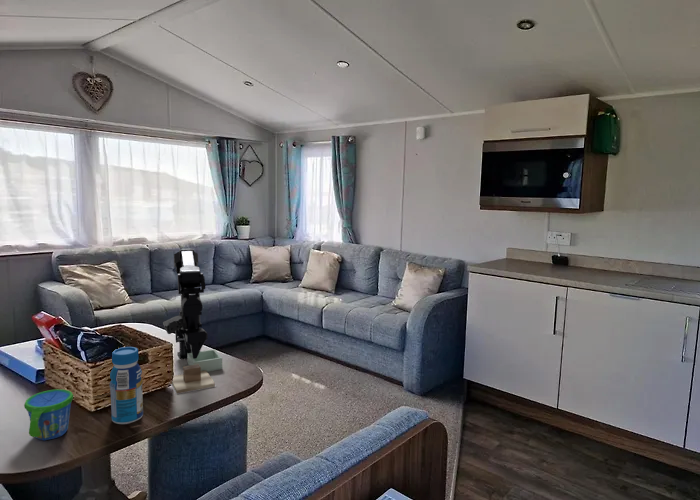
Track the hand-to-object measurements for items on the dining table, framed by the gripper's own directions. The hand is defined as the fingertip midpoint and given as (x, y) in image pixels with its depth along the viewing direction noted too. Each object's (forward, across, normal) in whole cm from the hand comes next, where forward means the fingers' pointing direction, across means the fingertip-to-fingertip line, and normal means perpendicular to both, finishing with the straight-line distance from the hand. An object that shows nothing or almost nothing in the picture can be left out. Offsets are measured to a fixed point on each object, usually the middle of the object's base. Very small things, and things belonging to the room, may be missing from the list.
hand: (191, 353), depth 157 cm
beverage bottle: (+11, +15, -21) cm, 28 cm away
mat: (+10, 0, 0) cm, 11 cm away
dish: (+10, -12, +7) cm, 17 cm away
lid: (+10, 0, 0) cm, 10 cm away
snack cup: (+11, +15, -40) cm, 44 cm away
